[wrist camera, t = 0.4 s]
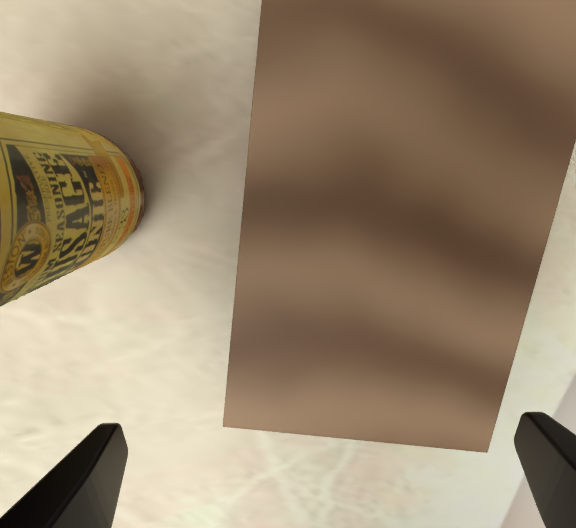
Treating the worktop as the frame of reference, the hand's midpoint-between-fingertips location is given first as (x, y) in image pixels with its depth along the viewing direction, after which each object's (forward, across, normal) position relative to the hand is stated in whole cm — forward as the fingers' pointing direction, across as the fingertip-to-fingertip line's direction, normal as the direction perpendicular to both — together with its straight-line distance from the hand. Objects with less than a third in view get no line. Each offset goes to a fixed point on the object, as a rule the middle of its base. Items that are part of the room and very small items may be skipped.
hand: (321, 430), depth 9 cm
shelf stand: (+14, -4, +1) cm, 14 cm away
